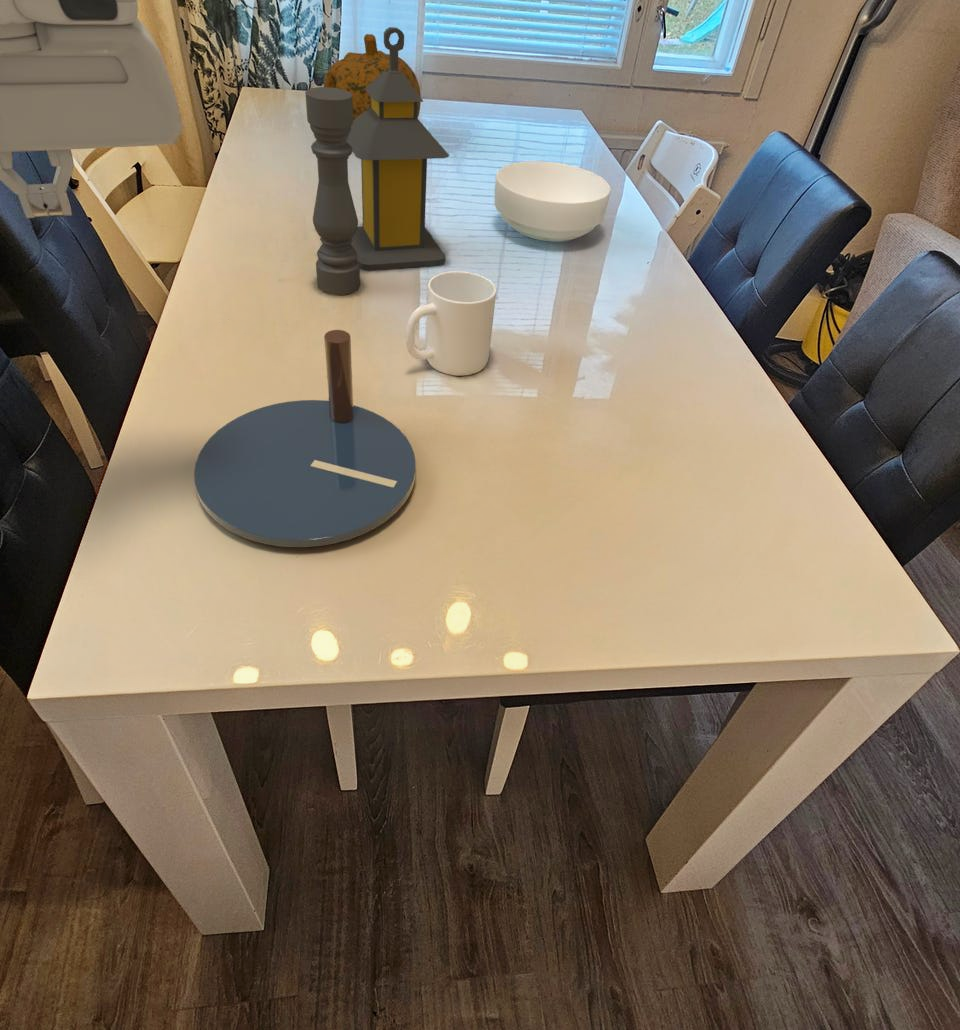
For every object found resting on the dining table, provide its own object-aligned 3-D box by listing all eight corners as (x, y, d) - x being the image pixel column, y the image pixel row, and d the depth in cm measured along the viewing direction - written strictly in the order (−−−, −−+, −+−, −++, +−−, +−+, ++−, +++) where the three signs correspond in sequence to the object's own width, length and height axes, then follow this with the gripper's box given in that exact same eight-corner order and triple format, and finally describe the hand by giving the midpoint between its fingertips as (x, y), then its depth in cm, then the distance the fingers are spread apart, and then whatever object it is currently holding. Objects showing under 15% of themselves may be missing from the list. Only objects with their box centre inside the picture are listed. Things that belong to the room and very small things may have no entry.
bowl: (583, 264, 116) (593, 213, 111) (474, 236, 120) (478, 185, 115) (612, 224, 130) (622, 176, 124) (512, 200, 134) (518, 153, 128)
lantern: (447, 264, 112) (460, 42, 91) (360, 271, 108) (353, 39, 87) (422, 228, 121) (429, 18, 100) (340, 233, 117) (330, 15, 96)
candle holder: (318, 274, 105) (304, 84, 88) (360, 276, 106) (354, 88, 89) (316, 294, 101) (301, 98, 84) (359, 295, 102) (354, 102, 85)
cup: (500, 366, 92) (510, 293, 85) (423, 392, 86) (426, 316, 79) (464, 337, 96) (469, 266, 89) (388, 359, 91) (388, 285, 84)
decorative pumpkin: (432, 129, 158) (430, 23, 143) (408, 167, 145) (403, 55, 130) (346, 119, 161) (335, 14, 146) (314, 156, 147) (299, 44, 132)
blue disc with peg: (149, 512, 66) (118, 417, 59) (263, 389, 82) (250, 302, 74) (367, 573, 63) (364, 482, 56) (442, 434, 79) (448, 347, 71)
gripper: (-273, -23, 35) (-132, 246, 45) (160, -10, 43) (202, 219, 52) (-244, -43, 39) (-120, 208, 49) (147, -28, 47) (189, 188, 56)
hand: (49, 214), depth 51 cm, fingers closed
